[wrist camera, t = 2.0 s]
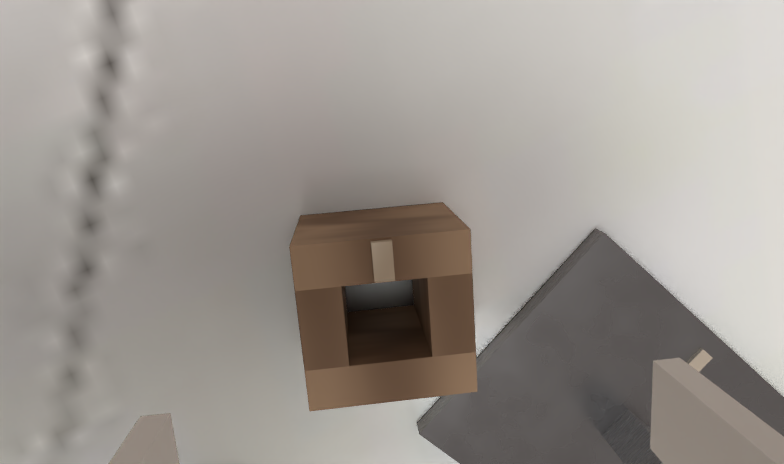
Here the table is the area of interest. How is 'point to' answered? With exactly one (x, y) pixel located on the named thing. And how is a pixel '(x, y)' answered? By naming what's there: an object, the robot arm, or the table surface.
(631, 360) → the metal panel
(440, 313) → the brown cardboard box
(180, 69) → the table surface
